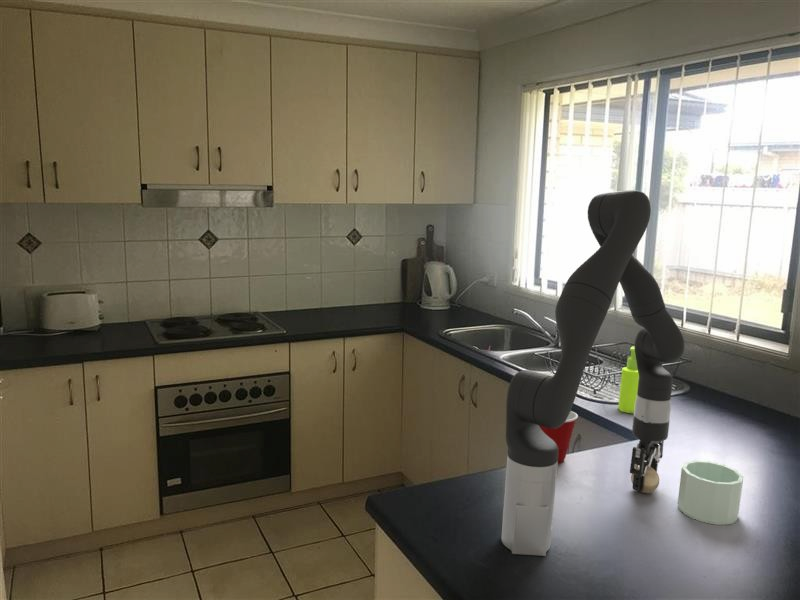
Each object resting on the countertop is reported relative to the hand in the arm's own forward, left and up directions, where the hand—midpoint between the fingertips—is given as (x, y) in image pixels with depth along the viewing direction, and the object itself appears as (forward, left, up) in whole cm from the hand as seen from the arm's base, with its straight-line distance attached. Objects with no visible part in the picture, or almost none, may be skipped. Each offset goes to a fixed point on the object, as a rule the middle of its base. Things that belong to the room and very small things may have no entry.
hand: (644, 484), depth 152 cm
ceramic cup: (-8, -11, -2) cm, 14 cm away
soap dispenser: (+59, -13, -2) cm, 60 cm away
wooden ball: (0, 0, +1) cm, 1 cm away
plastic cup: (+16, +18, -2) cm, 24 cm away
